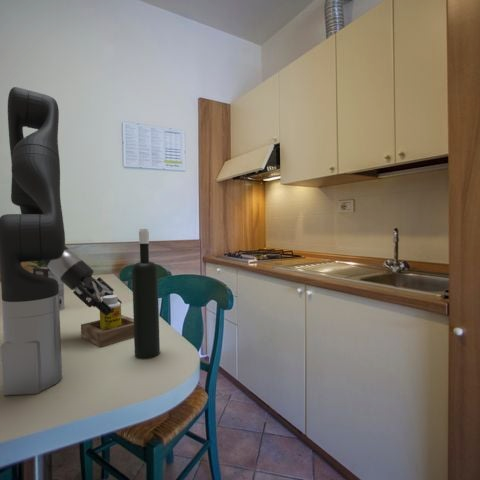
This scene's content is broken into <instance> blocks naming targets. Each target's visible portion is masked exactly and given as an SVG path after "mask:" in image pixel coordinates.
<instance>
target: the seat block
mask: <svg viewBox="0 0 480 480" xmlns="http://www.w3.org/2000/svg"><path fill="white" fill-rule="evenodd" d="M80 334H81V335H80V336H81V338H83V339H85V340H87V341H88V342H90V343H92V344H94V345H96V346H98V347H100V348H102V347H107V346H109V345H112V344H115V343H119V342H122V341H125V340H129V339H134V318H131V317H129V316H127V315H126V316H125V315H122V314H121V326H120V327H116V328H112V329H109V330H105V331H103V330H100V319H98V320H95V321H91V322H85V323H81V324H80Z"/></svg>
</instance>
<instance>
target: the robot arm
mask: <svg viewBox="0 0 480 480" xmlns="http://www.w3.org/2000/svg"><path fill="white" fill-rule="evenodd" d="M59 117H60V110H59V106H58V102H57V100H56V99H55V98H54V97H52V96H50V95H47V94H45V93H40V92H37V91H33V90H28V89H26V88H22V87H17V86H13V87H12V88H11V89H10V90H9V93H8V98H7V123H8V124H7V125H8V140H9V142H8V143H9V151H10V159H11V160H10V161H11V186H10V187H11V190H10V201H11V203H12V204H13V205H14V206H16V207H17V206H18V207H19V209H20V213H8V214H3V215H1V216H0V287H1V290H0V291H1V309H2V331H3V343H2V344H1V347H0V350H1V372H2V373H1V374H2V390H3V391H2V395H3V396H15V395H16V396H17V395H19V396H20V395H37V394H39V393H40V392H41V391H44V390H46V389H48V388H51V387H52V386H54V385H55V384H57V383H59V382H60V381H61V379H62V378H63V364H62V363H63V361H62V358H63V357H62V340H61V317H60V316H61V315H60V311H61V310H59V286H58V282H57V280H55V279H53V278H49V277H44V276H39V275H36V274H33V272H32V271H31V272H30V271H29V270H27V269H25V268H24V267H23V264H22V263H27V262H29V263H32V262H31V261H34V262H36V261H41V262H42V263H44V264H45V265H46V266H47V267H48V268H49V269H50V270H51V272H52V273H53V274H54V275H55V276H56V277H58V278H59V279H60V280H61V281H62V282H63V283H64V286H67V287H68V288H69V290H71V291H73V292H72V293H73V295H75V296H76V297H77V298H78V299H79V300H80V301H81V302H83V303H84V304H85V305H86V306H87V307H88V308H92V307H93V308H96V309H98V310H99V312H100V311H101V312H102V313H103V314H104V315H106V316H107V315H108V314H109V313H110V312H111V311H112V308H110V307H109V306H108V305H107V304H106V303H105V302H104V301H102V297H104V296H107V295H115V294H114V291H115V290H114V288H112V287H111V286H110V285H109V284H108V283H107V282H106V281H104V279H102V278H101V277H100V276H99V277H98V278H97V279H95V278H94V277H93V274H94V269H93V268H92V267H90V266H89V264H88V263H86V262H85V261H84V260H83V259H82V258H81V257H79V256H78V255H77V254H76V253H75V252H73V251H72V250H71V249H70V248H68V247H67V246H66V233H65V225H64V217H63V209H62V208H63V207H62V202H61V201H62V200H61V164H60V163H61V162H60V153H59V152H60V151H59V137H58V136H59V135H58V134H59ZM24 127H25V128H29V129H34V130H36V131H33V132H32V133H30V134H28V135H26V136H24V129H23V128H24ZM117 302H120V303H121V305H122V303H123V302H122V301H121V300H120V299H119V298H118V301H117Z"/></svg>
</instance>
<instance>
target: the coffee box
mask: <svg viewBox="0 0 480 480" xmlns="http://www.w3.org/2000/svg"><path fill="white" fill-rule="evenodd" d="M32 270H33V271H32V273H33V274H36V275H39V276H44V277H49V278H53V279H55V280H57V282H58V286H59V311H61V310H65V284H64V283H63V282H62V281H61V280H60V279H59V278H58V277H56V276H55V275H54V274H53V273H52V272H51V270H50V269H49V268H48V267H40V266H37V268H34V267H32Z"/></svg>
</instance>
